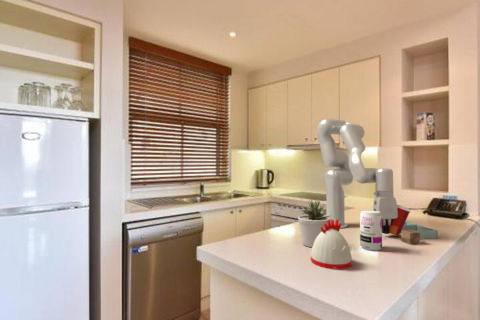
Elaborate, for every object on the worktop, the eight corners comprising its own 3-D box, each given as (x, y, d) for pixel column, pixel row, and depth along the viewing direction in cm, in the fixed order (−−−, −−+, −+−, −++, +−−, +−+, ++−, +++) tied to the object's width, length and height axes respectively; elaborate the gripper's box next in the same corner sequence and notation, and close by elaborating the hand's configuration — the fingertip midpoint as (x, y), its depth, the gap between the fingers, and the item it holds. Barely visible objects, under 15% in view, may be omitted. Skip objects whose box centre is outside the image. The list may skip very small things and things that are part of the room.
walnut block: (410, 244, 119) (409, 233, 119) (401, 241, 124) (401, 230, 124) (420, 244, 120) (420, 232, 120) (411, 241, 125) (411, 229, 125)
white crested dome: (360, 266, 94) (360, 222, 94) (325, 271, 90) (325, 225, 90) (335, 254, 107) (335, 215, 107) (303, 257, 103) (303, 217, 103)
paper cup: (395, 235, 136) (405, 208, 137) (404, 239, 129) (414, 210, 129) (380, 229, 137) (390, 202, 137) (388, 232, 129) (398, 204, 129)
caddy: (409, 239, 127) (409, 231, 127) (381, 229, 146) (381, 222, 146) (437, 237, 130) (437, 230, 130) (406, 228, 149) (406, 221, 149)
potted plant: (336, 249, 113) (336, 199, 113) (303, 249, 112) (302, 200, 112) (324, 240, 125) (324, 196, 126) (294, 241, 125) (294, 196, 125)
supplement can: (380, 246, 117) (380, 210, 117) (383, 252, 109) (383, 213, 109) (359, 244, 120) (359, 209, 120) (361, 250, 112) (360, 212, 112)
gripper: (375, 195, 127) (375, 236, 127) (404, 194, 129) (405, 234, 129) (365, 194, 134) (366, 232, 134) (393, 193, 137) (394, 230, 136)
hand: (385, 233), depth 131 cm, fingers closed
